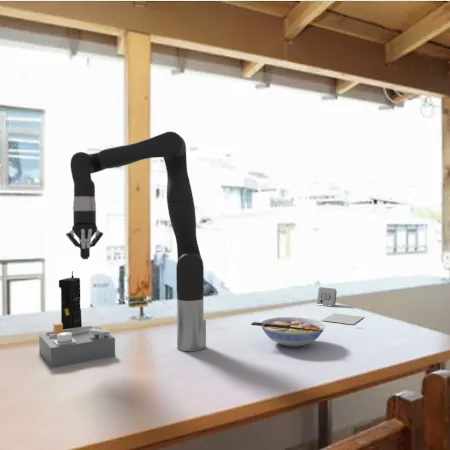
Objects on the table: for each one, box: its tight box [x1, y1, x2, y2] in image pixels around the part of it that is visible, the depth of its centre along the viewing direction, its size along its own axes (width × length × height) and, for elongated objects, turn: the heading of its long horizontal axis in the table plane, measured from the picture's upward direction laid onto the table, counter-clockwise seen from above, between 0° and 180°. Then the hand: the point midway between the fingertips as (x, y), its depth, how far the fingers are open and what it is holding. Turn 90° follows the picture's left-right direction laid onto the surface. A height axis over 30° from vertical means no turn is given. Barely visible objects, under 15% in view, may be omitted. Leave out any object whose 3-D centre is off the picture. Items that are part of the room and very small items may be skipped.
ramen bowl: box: [250, 316, 325, 348], centre depth 155 cm, size 25×23×8 cm
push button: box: [57, 332, 72, 342], centre depth 138 cm, size 4×4×2 cm
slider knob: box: [52, 321, 63, 334], centre depth 147 cm, size 2×3×4 cm
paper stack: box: [322, 312, 364, 330], centre depth 187 cm, size 23×25×1 cm
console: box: [38, 325, 116, 369], centre depth 145 cm, size 20×18×8 cm
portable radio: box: [58, 271, 83, 330], centre depth 163 cm, size 8×6×25 cm
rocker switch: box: [88, 328, 111, 336], centre depth 144 cm, size 6×4×1 cm, turn 123°
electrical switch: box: [316, 286, 338, 307], centre depth 225 cm, size 9×5×9 cm, turn 53°
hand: (85, 259), depth 153 cm, fingers closed
